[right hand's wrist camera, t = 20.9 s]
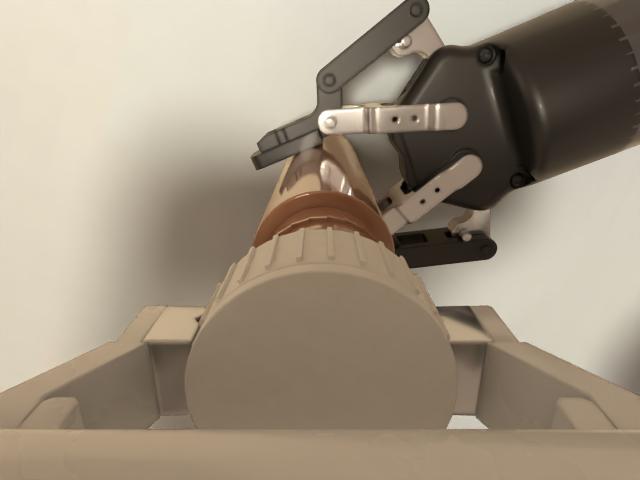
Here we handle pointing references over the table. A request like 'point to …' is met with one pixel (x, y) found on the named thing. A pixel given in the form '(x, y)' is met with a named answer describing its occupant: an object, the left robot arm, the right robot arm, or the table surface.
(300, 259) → the lid
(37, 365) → the table surface
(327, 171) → the tan tall cylinder
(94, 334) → the table surface
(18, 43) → the table surface
